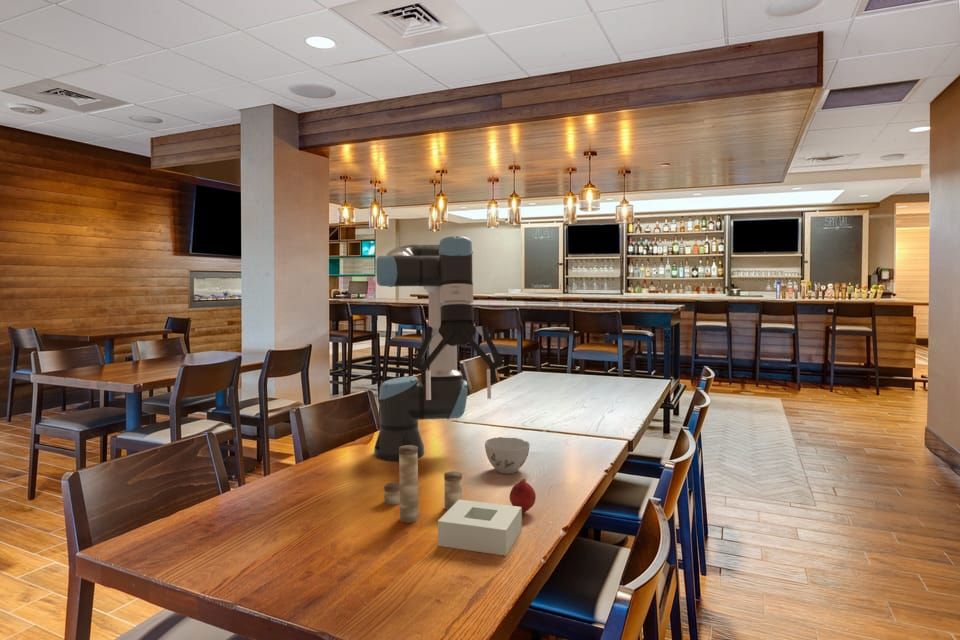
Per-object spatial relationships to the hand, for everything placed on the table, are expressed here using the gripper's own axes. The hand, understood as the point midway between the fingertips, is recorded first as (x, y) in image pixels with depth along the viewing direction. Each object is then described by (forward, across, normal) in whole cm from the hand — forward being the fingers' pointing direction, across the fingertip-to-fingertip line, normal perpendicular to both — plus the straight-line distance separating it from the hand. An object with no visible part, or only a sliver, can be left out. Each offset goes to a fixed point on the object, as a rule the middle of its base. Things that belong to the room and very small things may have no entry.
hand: (458, 399), depth 127 cm
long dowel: (+26, -12, 0) cm, 28 cm away
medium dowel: (+25, -2, +7) cm, 26 cm away
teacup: (+21, +11, +35) cm, 43 cm away
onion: (+26, +14, +5) cm, 30 cm away
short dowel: (+24, -17, +10) cm, 31 cm away
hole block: (+28, +4, -8) cm, 29 cm away
